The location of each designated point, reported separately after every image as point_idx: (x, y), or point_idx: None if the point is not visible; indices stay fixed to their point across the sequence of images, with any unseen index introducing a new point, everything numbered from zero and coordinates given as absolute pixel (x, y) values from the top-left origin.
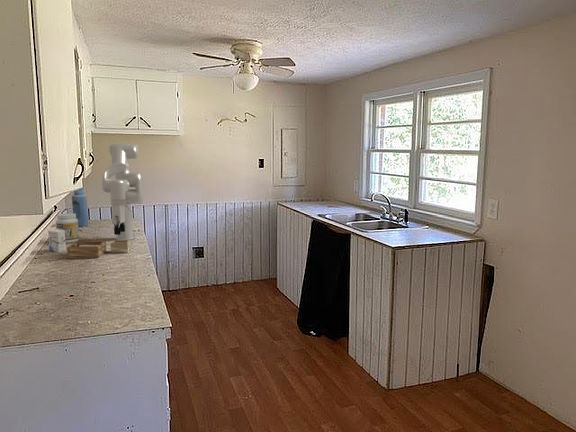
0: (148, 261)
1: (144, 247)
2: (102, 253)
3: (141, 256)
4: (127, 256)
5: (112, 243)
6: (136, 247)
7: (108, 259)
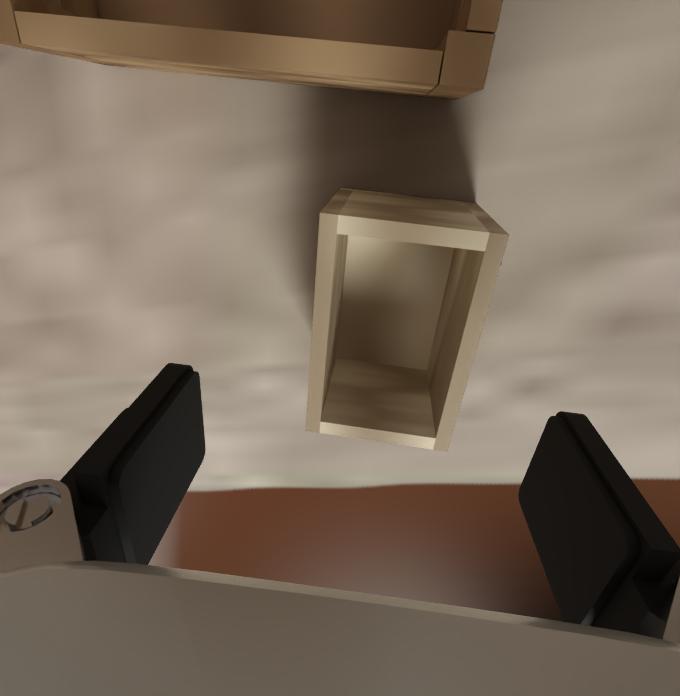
0: None
1: None
2: (273, 80)
3: None
4: None
5: (320, 240)
6: None
7: (61, 205)
